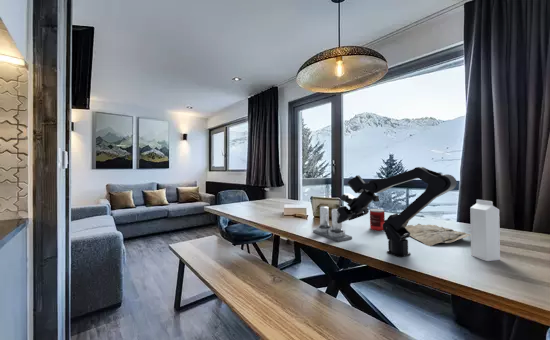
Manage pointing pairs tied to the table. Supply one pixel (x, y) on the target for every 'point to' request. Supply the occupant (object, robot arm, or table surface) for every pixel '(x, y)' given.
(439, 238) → the stone slab
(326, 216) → the grey cylinder holder
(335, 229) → the billet
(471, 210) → the milk
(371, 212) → the canned food
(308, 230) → the table surface
